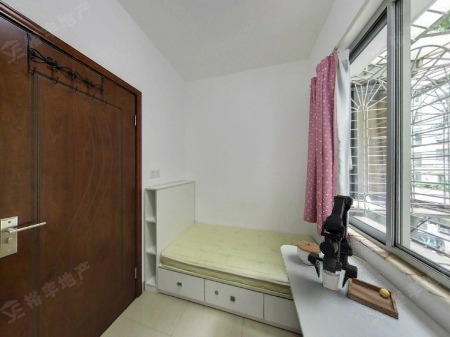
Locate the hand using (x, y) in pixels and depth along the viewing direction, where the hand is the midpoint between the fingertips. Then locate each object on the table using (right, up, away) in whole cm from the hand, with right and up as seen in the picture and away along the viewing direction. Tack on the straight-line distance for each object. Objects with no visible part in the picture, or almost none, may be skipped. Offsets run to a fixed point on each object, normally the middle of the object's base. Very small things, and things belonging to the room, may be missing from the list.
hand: (330, 282), depth 76 cm
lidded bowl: (0, -2, +21) cm, 21 cm away
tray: (+13, -3, -6) cm, 15 cm away
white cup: (0, -2, 0) cm, 2 cm away
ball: (+20, -2, -5) cm, 20 cm away
